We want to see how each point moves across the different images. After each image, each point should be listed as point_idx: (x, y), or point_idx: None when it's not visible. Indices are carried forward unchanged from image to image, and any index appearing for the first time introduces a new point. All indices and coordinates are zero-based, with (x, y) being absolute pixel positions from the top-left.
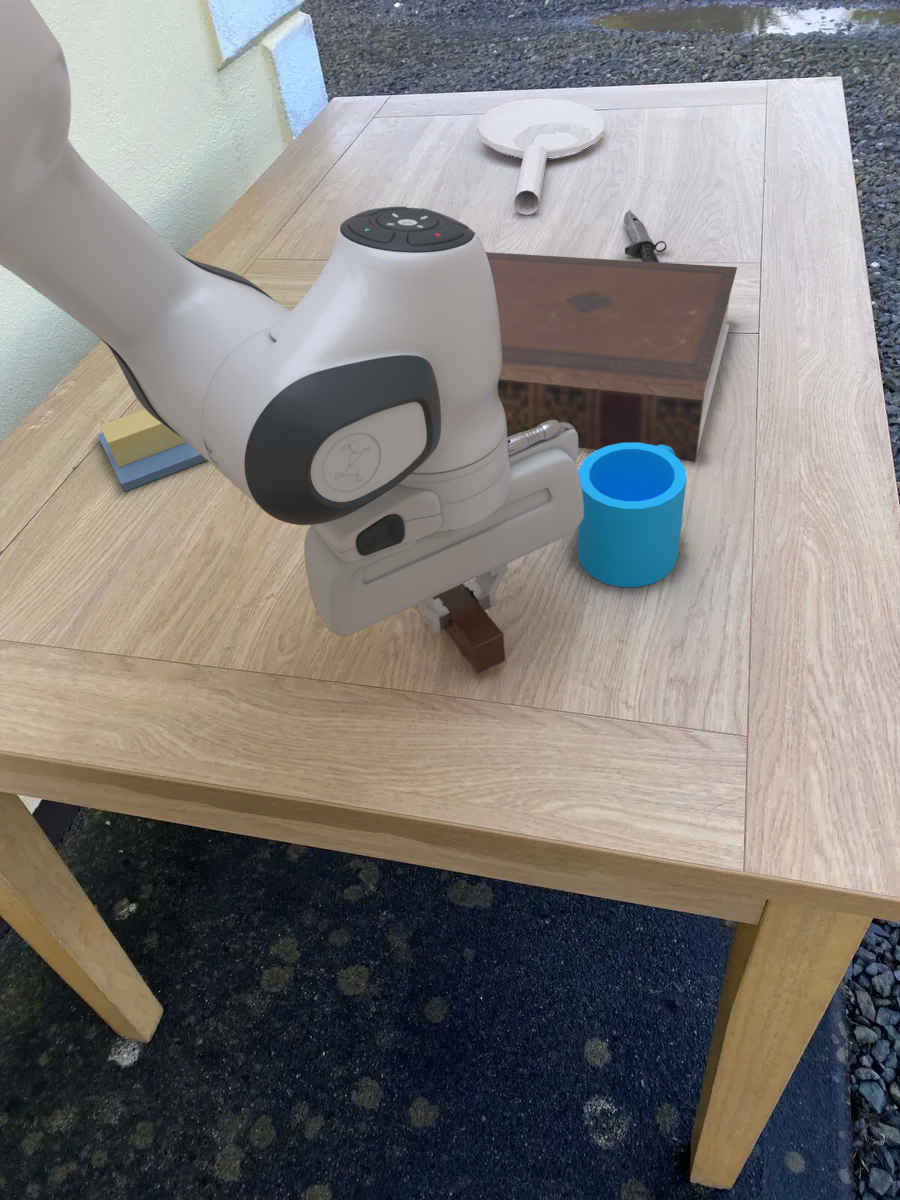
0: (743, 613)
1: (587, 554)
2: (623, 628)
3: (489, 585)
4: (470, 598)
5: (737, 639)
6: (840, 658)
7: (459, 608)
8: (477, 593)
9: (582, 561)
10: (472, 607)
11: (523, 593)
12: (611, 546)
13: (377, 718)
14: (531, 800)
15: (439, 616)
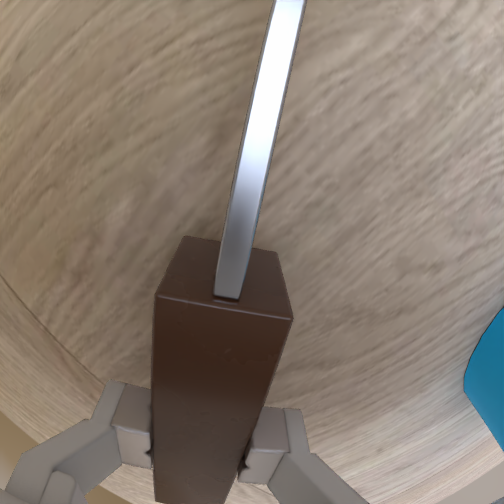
0: (461, 455)
1: (497, 372)
2: (399, 439)
3: (282, 499)
4: (231, 460)
5: (430, 473)
6: (436, 494)
7: (186, 459)
8: (251, 475)
9: (490, 343)
10: (215, 472)
11: (394, 323)
12: (501, 437)
13: (17, 350)
14: (142, 495)
15: (119, 463)
